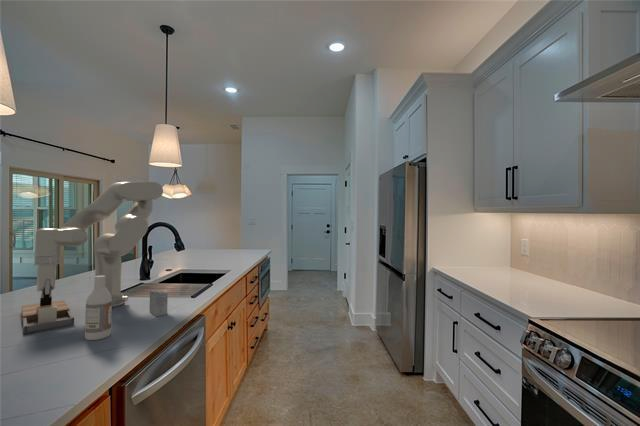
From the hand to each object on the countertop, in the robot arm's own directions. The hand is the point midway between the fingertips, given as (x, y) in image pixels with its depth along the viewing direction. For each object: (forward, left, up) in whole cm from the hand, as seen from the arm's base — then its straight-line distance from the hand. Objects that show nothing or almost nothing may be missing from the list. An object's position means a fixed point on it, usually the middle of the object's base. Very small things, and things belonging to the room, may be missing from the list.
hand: (45, 307), depth 117 cm
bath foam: (-33, +16, -4) cm, 37 cm away
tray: (-8, +7, -4) cm, 12 cm away
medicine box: (-39, -9, -4) cm, 40 cm away
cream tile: (-5, +5, -1) cm, 7 cm away
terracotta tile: (-3, +3, -1) cm, 4 cm away
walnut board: (+2, -3, -4) cm, 5 cm away
